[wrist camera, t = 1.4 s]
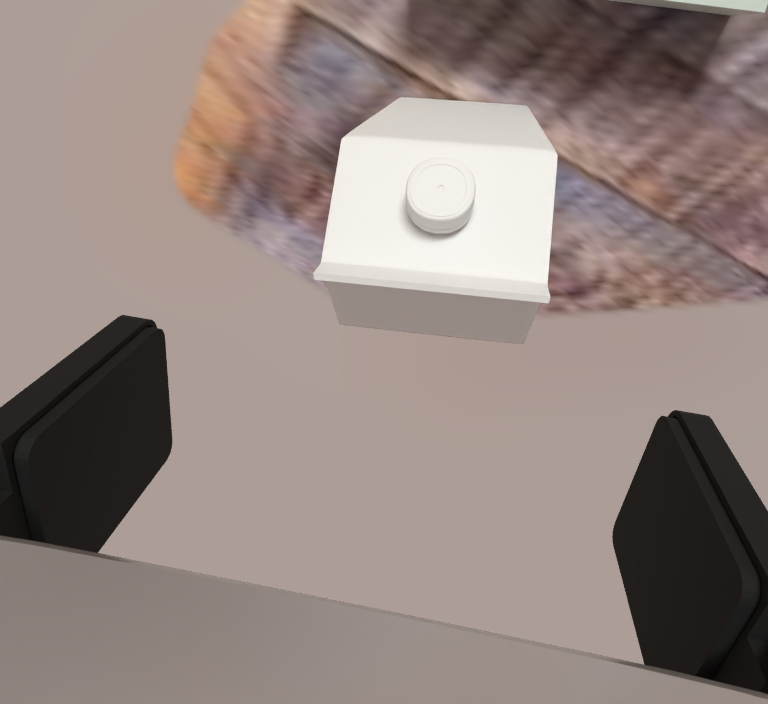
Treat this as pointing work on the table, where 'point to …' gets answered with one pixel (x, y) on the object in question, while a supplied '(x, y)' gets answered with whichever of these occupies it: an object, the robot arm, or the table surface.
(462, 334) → the milk carton
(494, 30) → the table surface
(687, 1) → the tray
